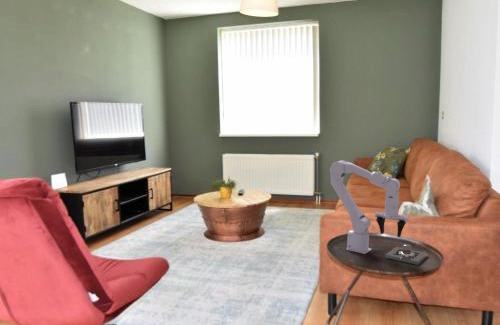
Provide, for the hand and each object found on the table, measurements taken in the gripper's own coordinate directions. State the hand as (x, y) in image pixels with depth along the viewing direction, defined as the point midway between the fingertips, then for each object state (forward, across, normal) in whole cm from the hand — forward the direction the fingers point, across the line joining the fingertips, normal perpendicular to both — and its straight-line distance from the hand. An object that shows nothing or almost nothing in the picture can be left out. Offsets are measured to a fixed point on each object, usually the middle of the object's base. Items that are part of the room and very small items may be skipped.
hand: (390, 234), depth 186 cm
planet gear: (+9, +7, +2) cm, 12 cm away
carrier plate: (+9, +7, +2) cm, 12 cm away
